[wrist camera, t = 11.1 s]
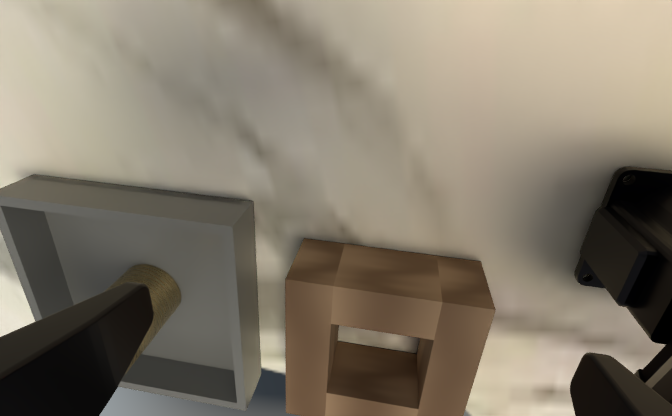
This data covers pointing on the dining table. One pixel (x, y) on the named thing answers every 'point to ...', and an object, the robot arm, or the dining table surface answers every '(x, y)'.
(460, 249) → the dining table surface
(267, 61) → the dining table surface
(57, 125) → the dining table surface
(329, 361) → the walnut block
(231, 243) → the charcoal tray
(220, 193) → the dining table surface
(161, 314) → the brass pin
